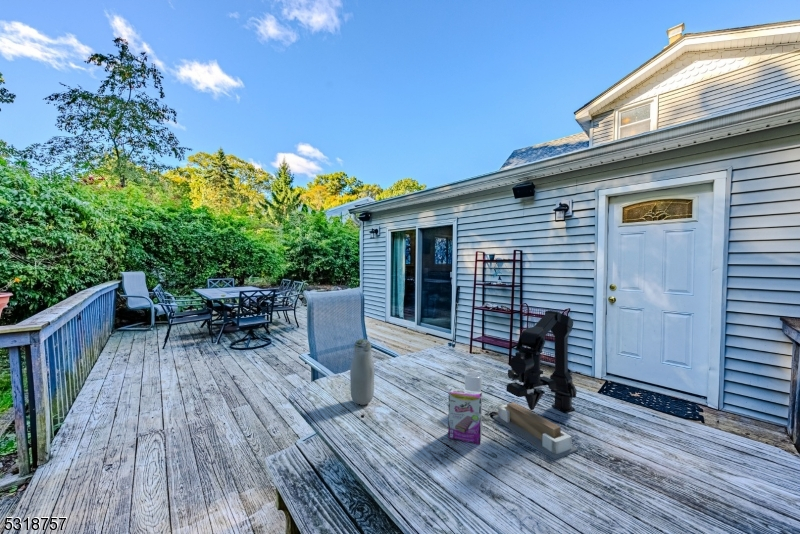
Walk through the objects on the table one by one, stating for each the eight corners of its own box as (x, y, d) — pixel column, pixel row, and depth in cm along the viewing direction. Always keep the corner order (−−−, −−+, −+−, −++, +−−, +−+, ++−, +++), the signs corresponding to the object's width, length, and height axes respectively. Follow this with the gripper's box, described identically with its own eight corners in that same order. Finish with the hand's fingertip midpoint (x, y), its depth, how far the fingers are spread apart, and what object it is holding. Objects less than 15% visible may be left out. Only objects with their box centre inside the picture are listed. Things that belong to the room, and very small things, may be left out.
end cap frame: (513, 412, 125) (513, 400, 125) (578, 450, 99) (578, 436, 99) (492, 417, 120) (492, 406, 120) (554, 459, 95) (554, 445, 95)
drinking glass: (481, 415, 122) (482, 378, 122) (464, 413, 123) (464, 377, 123) (480, 407, 129) (481, 372, 128) (464, 405, 130) (464, 371, 130)
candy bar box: (447, 439, 106) (447, 392, 105) (450, 431, 110) (450, 386, 110) (480, 445, 102) (481, 397, 102) (481, 437, 107) (482, 391, 107)
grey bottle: (346, 406, 130) (346, 341, 129) (358, 396, 139) (358, 335, 139) (367, 410, 126) (366, 343, 125) (377, 400, 135) (377, 337, 135)
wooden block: (513, 417, 119) (513, 402, 119) (560, 444, 101) (560, 426, 101) (506, 419, 118) (507, 404, 118) (553, 447, 100) (553, 429, 100)
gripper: (532, 356, 120) (532, 395, 121) (495, 363, 113) (495, 404, 113) (557, 365, 110) (557, 408, 110) (518, 373, 103) (518, 419, 103)
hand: (531, 409), depth 109 cm, fingers closed
